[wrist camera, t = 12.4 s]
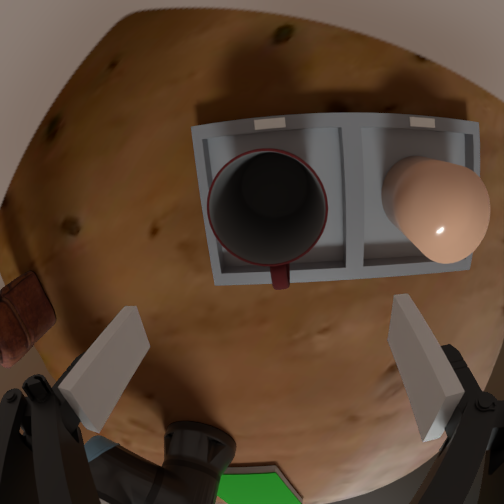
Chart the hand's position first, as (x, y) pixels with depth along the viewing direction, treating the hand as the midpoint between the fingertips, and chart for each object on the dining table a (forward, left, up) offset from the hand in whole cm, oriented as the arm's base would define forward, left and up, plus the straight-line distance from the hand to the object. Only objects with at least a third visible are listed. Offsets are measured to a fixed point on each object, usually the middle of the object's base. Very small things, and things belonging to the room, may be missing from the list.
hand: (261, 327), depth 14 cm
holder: (+8, +2, -21) cm, 22 cm away
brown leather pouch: (-44, -11, -21) cm, 50 cm away
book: (-11, -72, -22) cm, 76 cm away
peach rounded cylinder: (+16, +2, -20) cm, 26 cm away
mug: (0, +2, -20) cm, 20 cm away
